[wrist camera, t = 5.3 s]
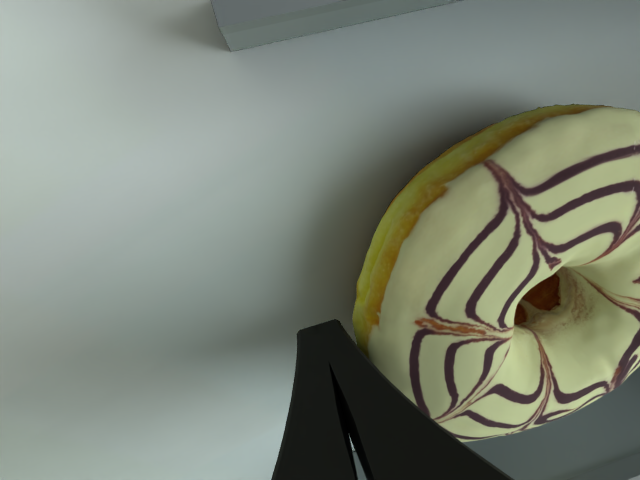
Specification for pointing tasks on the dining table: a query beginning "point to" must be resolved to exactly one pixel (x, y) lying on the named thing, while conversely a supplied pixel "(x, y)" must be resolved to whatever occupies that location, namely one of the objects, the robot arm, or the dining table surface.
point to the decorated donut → (511, 273)
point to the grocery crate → (502, 451)
